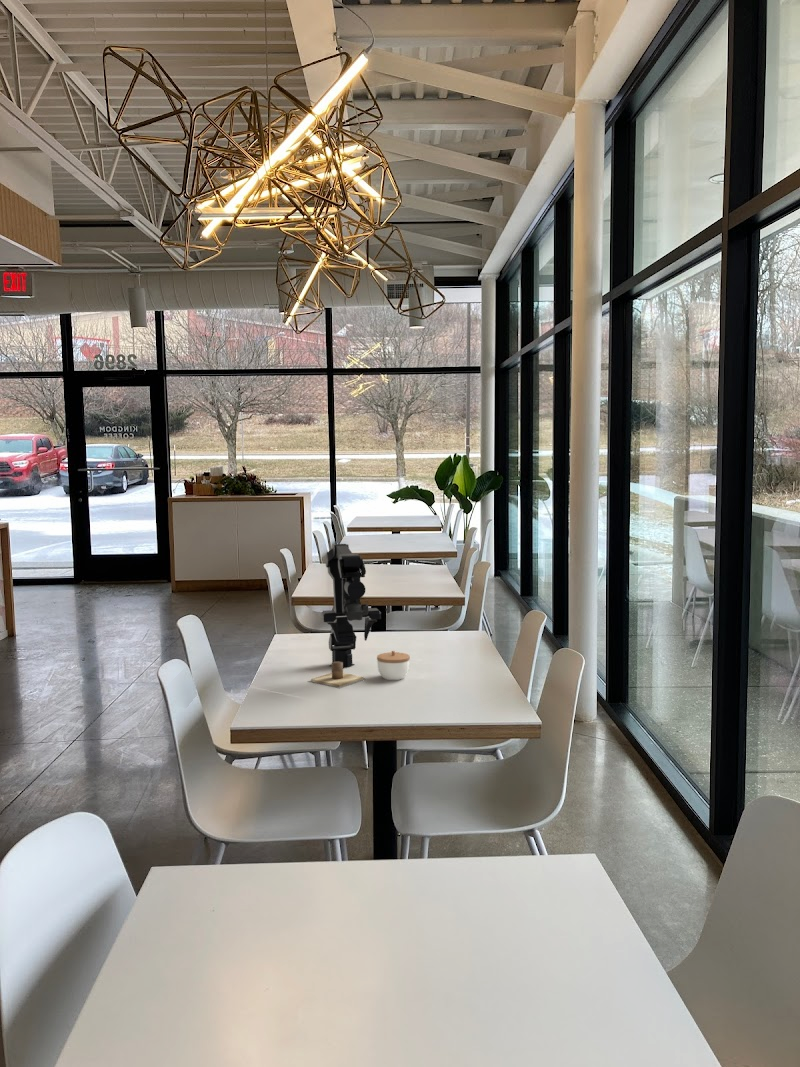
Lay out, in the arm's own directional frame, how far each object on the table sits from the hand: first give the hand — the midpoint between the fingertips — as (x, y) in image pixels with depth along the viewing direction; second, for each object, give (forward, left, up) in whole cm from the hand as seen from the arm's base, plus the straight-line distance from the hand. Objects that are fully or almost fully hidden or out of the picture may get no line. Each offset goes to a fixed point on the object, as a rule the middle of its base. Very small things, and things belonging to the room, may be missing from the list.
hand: (351, 641), depth 289 cm
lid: (-3, -3, -13) cm, 14 cm away
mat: (-3, -3, -13) cm, 14 cm away
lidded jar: (+10, +10, -13) cm, 19 cm away
